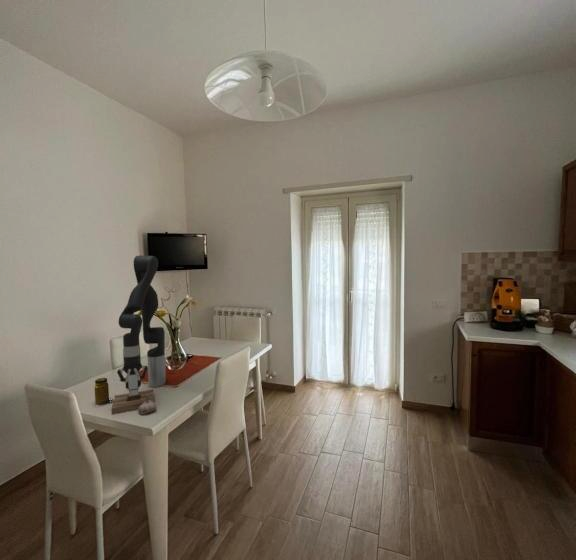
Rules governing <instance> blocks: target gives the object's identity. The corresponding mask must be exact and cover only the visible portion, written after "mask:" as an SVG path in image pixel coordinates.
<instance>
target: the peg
mask: <svg viewBox="0 0 576 560" xmlns="http://www.w3.org/2000/svg"><path fill="white" fill-rule="evenodd" d="M128 384H129V389H128V393H129V396H131V395H137V394H138V392H139V388H138V379H137V374H132V375H128Z"/></svg>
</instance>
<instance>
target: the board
mask: <svg viewBox="0 0 576 560" xmlns="http://www.w3.org/2000/svg"><path fill="white" fill-rule="evenodd" d="M147 395H148V396H149V400H150V401H153V402H154V403H155V400H154V398H155V397H154V396H155V392H154V389H153V388H152V389H147V390H146V389H145V390H140V391H139V390H138V394H137V395H131V396H129V392H128V393H122V394H115V395H114V397H113V399H114V401H113V402H112V405H111V415H115V413H117V414H120V413H121V412H122V413H127V411H128V412H132V411H138V408H139V406H140V405H142V404H143V403H144V402H145V401H146V397H147ZM122 413H121V414H122Z"/></svg>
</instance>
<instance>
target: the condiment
mask: <svg viewBox="0 0 576 560" xmlns="http://www.w3.org/2000/svg"><path fill="white" fill-rule="evenodd" d="M94 382H95V383H94V401H93V404H94V406H95V407H96V408H98V407H100V406H104V405H107V404H113V401H114V397H113V396H112V397H110V391H109V390H110V389H109V383H108V378H107V377H100V378H97V379H95V381H94ZM109 399H110V400H109ZM111 399H112V400H111ZM110 401H111V402H110Z"/></svg>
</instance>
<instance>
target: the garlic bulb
mask: <svg viewBox="0 0 576 560" xmlns="http://www.w3.org/2000/svg"><path fill="white" fill-rule="evenodd" d="M156 409H157V405H156V403H155V401H154V402H153V401H150V400H149V396H148V395H147V397H146V401H145V402H144V403H143V404H142V405H140V406H139V408H138V410H137V411H138V413H139V414H141V415H146V414H149V413H152V412H154V411H155V410H156Z"/></svg>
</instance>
